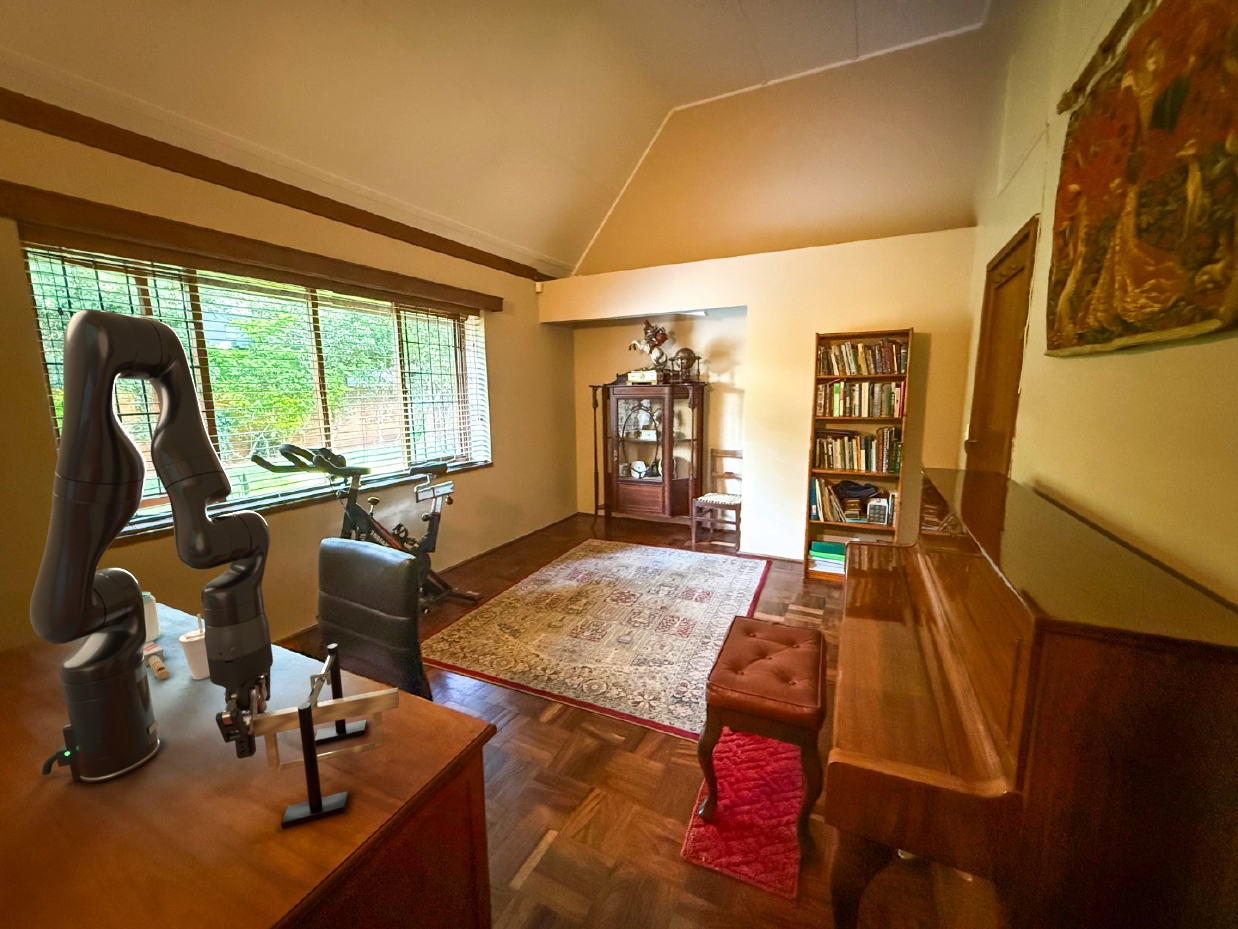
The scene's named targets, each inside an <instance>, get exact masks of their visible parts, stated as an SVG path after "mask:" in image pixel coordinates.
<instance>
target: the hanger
mask: <svg viewBox="0 0 1238 929" xmlns="http://www.w3.org/2000/svg"><path fill="white" fill-rule="evenodd" d="M320 677H326V680H325V682H326V685H327V686H331V676H330V671H329V672H326V673H320V672H319V673H315V674H311V675H310V676H309V679H310V688H311V689H310V690H311V691H312V689H313V687H314V685H315V683H316V679H317V678H320ZM399 707H400V696H399V687H398V686H397V687H392V688H387V689H382V690H377V691H376V690H375V691H372V692H366V693H361V694H355V695H351V696H345V697H343V698H339V699H334V700H333V699H330V700H325V701H319V702H318V699H317V700H316V703H315V705H314V707H313V709H312V717H313V726H316V725H317V726H318V725H321V724H327V723H333V722H335V721H337V720H341V719H345V720H346V719H350V718H355V717H361V716H365V715H371V714H372V723H373V734H374V741H373V742H370V743H365V744H361V745H356V746H352V747H348V748H342V749H340V750H334V751H330V752H326V753H320V754H317V761H318V763H319V762H324V761H328V760H333V759H336V758H341V757H346V756H350V755H355V754H359V753H363V752H369V751H372V750H376V749H380V748H383V746H384V744H385V733H384V723H383V722H384V721H383V712H384V711H389V710H394V709H399ZM244 722H245V724H246V721H245V720H244ZM253 728H254V730H253V731H254V736H255V738H259V737H263V738H264V746H265V751H266V753H265V754H266V760H267V767H268V772H269V773H271V772H273V773H276V772H280V771H284V770H289V769H293V768H298V767H302V766H304V757H303V758H298V759H294V760H290V761H284V762H281V758H280V752H279V745H278V736H277V734H278V733H282V732H283V733H284V732H288V731H292V730H298V729H300V723H299V715H298V706H293V707H288V708H283V709H276V710H272V711H267V712H265V713H261V714H256V715H255V716H254V717H253Z"/></svg>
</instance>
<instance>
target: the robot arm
mask: <svg viewBox="0 0 1238 929" xmlns="http://www.w3.org/2000/svg"><path fill="white" fill-rule="evenodd" d="M62 346H63V347H62V348H63V349H62V350H63V351H62V365H63V366H62V369H63V370H62V371H63V372H62V374H63V376H62V379H63V380H62V381H63V382H62V384H63V386H62V387H63V410H62V422H61V433H60V439H59V440H60V441H59V448H58V454H57V460H56V466H55V470H54V479H53V487H52V496H51V497H52V501H51V511H50V518H49V525H48V530H47V532H48V533H47V536H46V537H47V538H46V542H45V547H44V552H43V555H42V560H41V562H40V567H39V568H38V569H39V570H38V572H37V573H38V574H37V576H36V580H35V584H34V587H33V590H32V594H31V597H30V601H29V602H30V603H29V620H30V624H31V626H32V629H33V631H34V633H35V634H36V635H37V636H38V637H39V638H40V639H41V640H43V641H44V642H46V643H49V644H53V645H61V644H68V643H72V642H74V641H78V640H80V639H84V640H83V641H82V642H80V644H79V645H78V646H77V647H76V648H75V649H73V651H72V652H71V653H69V654H68V655H67V656H66V657H65V658H64V659H63V660H62V661H61V662H60V665H59V668H58V669H59V670H58V671H59V676H60V681H61V685H62V691H63V696H64V700H65V705H66V710H67V715H68V716H67V717H68V720H69V722H68V723H67V724H66V725H64V726H63V728H62V734H63V738H64V740H63V741H64V744H63V745H62V746H61V747H59V748H58V749H57V750H56V751H55V753H53V754H52V755H50V756H49V757H48V758H47V759H46V760H45V761H44V763H43V765H42V770H41V775H42V776H48V775H50V774H51V772H52V768H53V765H54V763H55V761H57V765H58V768H62V767H65V766H69V770H70V773H71V774H70V775H71V778H72V782H78V781H81V782H83V783H88V784H89V783H91V784H93V783H101V782H105V781H109V780H112V779H115V778H118V777H120V776H123V775H126V774H128V773H129V772H132V771H134V770H135V769H137V768H139V767H141V766H142V765H144V764H145V763H147V762H148V761H150V760H151V759H152V758H153V757H154V756H155V755H156V754H157V753H158V751H159V750H160V747H161V743H160V740H159V735H158V732H157V727H159V723H158V719H156V718H155V713H154V707H153V701H152V695H151V689H150V683H149V678H148V671H147V666H146V665H145V659H144V653H143V648H144V645H145V642H146V636H147V635H146V624H145V612H144V601H143V595H142V592H143V591H142V588H141V585H140V584H139V581H138V580H137V579H136V578H135V577H134V575H133V574H132V573H130V572H129V571H127V570H125V569H123V568H119V567H105V568H102V569H99V570H98V567H99V565H100V562H101V561H102V558H103V556H104V555H105V554H106V552H107V550H108V549H109V548H110V546H111V545H112V544H113V543H114V541H115V540H116V539H117V537H119V535H120V534H121V533H122V531H123V530H124V529H125V528H126V527H127V525H128V524H129V523H130V521H131V520H132V519H133V518H134V517H135V514H136V512H137V511H138V510H139V508H140V506H141V503H142V500H143V496H144V490H145V485H146V476H147V471H148V470H147V469H148V466H147V461H146V458H145V456H144V454H143V452H142V450H141V449H140V448H139V447H138V444H137V443H136V442H135V441H134V439H133V437H131V435H130V434H129V433H128V431H127V430H126V429H125V427H124V426H123V424H122V422H121V421H120V419H119V417H118V415H117V413H116V412H117V411H116V409H115V385H116V381H117V379H121V380H122V379H123V380H133V381H134V380H135V381H148V382H149V383H150V384H151V386H152V388H153V389H154V392H155V393H156V395H157V397H158V401H159V408H160V409H159V414H158V419H157V421H156V425H155V427H154V431H153V433H152V436H151V441H150V458H151V462H152V465H153V468H154V471H155V472H156V474H157V476H158V478H159V480H160V483H161V484H162V486H163V489H164V490H165V492H166V495H167V496H168V499H169V503H170V508H171V515H172V523H173V539H174V540H173V541H174V548H175V553H176V555H177V557H178V558H179V560H180V561H181V562H182V563H183V564H184V565H185V566H187V567H189V568H190V569H193V570H196V571H208V570H212V569H215V568H219V567H221V566H225V565H227V564H228V567H227V569H226V570H225V571H224V572H222V573H221V574H219V576H217V577H216V578H214V579H212V580H211V581H209V582H207V583H205V585H204V586H203V587H202V588H201V591H200V603H201V608H202V615H203V616H202V617H203V623H204V628H205V635H204V638H205V646H206V653H207V660H208V667H209V673H210V676H209V679H210V682H211V683H212V684H213V685H216V686H219V687H222V688H224V689H225V690H224V691H225V692H224V695H223V703H224V704H225V708H224V710H223V711H218V712H217V713H216V714H215V723H216V725H217V727H218V729H219V731H220V734H221V737H222V739H223V741H224V743H225V744H229V743H231V742H234V744H235V752H236V757H237V759H239V760H240V759H241V760H242V759H246V758H251V757H253V756H254V755H255V754H256V752H257V744H256V737H255V736H254V731H253V730H254V728H253V717H254V716H255V715H256V714H261V713H266V711H267V709H268V705H267V704H268V703H267V702H269V701H270V699H271V669H272V668H271V667H272V666H273V664H274V657H273V650H272V642H271V641H272V640H271V633H270V632H271V631H270V625H269V624H270V623H269V620H268V615H267V614H266V609H265V603H264V593H263V579H264V574H265V570H266V565H267V559H268V556H269V551H270V544H271V532H270V528H269V525H268V524H267V522H266V520H265V519H264V518H263V516H262V515H260V514H259V513H257V512H255V511H253V510H240V511H234V512H230V513H227V514H226V513H225V514H222V515H218V516H217V515H216V516H212V517H209V516H208V514H207V508H208V507H209V506H212V505H214V504H216V503H218V502H222V501H223V500H225V499H226V498H227V497H229V496H230V495H231V494H232V490H233V486H232V483H231V480H230V478H229V476H228V474H227V472H226V470H225V468H224V466H223V463H222V462H221V460H220V458H219V456H218V454H217V452H216V450H215V448H214V446H213V443H212V441H211V438H210V436H209V434H208V431H207V428H206V425H205V421H204V418H203V415H202V410H201V406H200V402H199V398H198V394H197V389H196V386H195V382H194V379H193V376H192V371H191V368H190V365H189V360H188V357H187V354H186V351H185V348H184V346H183V343H182V340H181V339H180V338H179V336H178V334H177V333H176V331H175V330H174V329H173V328H172V327H171V326H169V324H166V323H164V322H162V321H160V320H155V319H151V318H146V317H140V316H134V315H128V314H123V313H117V312H112V311H106V310H100V309H93V308H91V309H90V308H85V309H81V310H78V311H77V312H75V313H73V315H72V316H70V318H69V320H68V322H67V325H66V328H65V331H64V336H63V345H62ZM244 720H245V721H246V724H245V722H244Z"/></svg>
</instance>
